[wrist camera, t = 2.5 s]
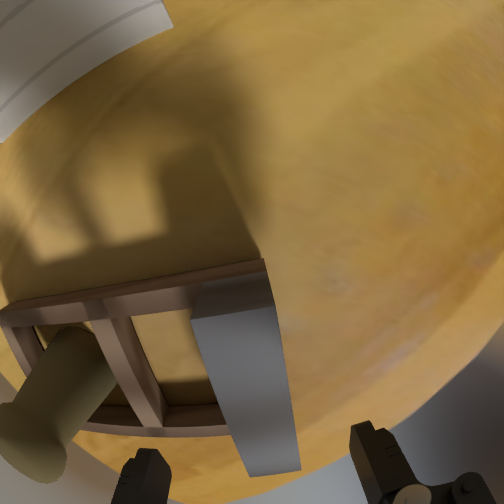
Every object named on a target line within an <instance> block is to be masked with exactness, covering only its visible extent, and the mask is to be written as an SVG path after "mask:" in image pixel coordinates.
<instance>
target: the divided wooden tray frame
mask: <svg viewBox="0 0 504 504" xmlns="http://www.w3.org/2000/svg"><path fill="white" fill-rule="evenodd" d="M193 307H194V310H193V313H192V315H191V318H190V322H191V325H192V328H193V331H194V335H195V338H196V341H197V344H198V347H199V350H200V353H201V356H202V359H203V362H204V365H205V368H206V370H207V373H208V376H209V379H210V382H211V384H212V387H213V390H214V393H215V395H216V398H217V401H218V403H219V404H209V405H195V406H177V407H169V406H168V404H167V402H166V400H165V398H164V396H163V394H162V392H161V390H160V388H159V386H158V384H157V382H156V380H155V378H154V375H153V373H152V371H151V369H150V367H149V364H148V362H147V360H146V357H145V355H144V353H143V350H142V348H141V346H140V343H139V341H138V338H137V336H136V333H135V331H134V328H133V325H132V323H131V320H130V317H129V316H137V315H144V314H152V313H159V312H166V311H173V310H180V309H187V308H193ZM85 321H90V324H91V326H92V329H93V331H94V333H95V336H96V338H97V340H98V342H99V345H100V347H101V349H102V351H103V353H104V356H105V358H106V360H107V362H108V364H109V366H110V368H111V370H112V372H113V374H114V376H115V378H116V380H117V382H118V383H119V385H120V387H121V389H122V391H123V393H124V394H125V396H126V398H127V400H128V401H129V403H130V405H131V407H120V406H102V405H99V407H98V408H97V409H96V410H95V412H94V413H93V414H92V415H91V416H90V418H89V419H88V420H87V421H86V423H85V424H84V425H83V426H82V428H81V429H80V430H85V431H91V432H99V433H107V434H116V435H127V436H141V437H209V436H224V435H231V436H232V438H233V440H234V443H235V445H236V448H237V450H238V452H239V454H240V457H241V459H242V461H243V463H244V466H245V468H246V470H247V472H248V474H249V476H250V477H258V476H267V475H274V474H281V473H288V472H294V471H299V470H301V463H300V457H299V450H298V443H297V436H296V430H295V423H294V417H293V410H292V404H291V398H290V391H289V385H288V379H287V373H286V366H285V360H284V354H283V348H282V342H281V336H280V330H279V324H278V318H277V312H276V306H275V302H274V298H273V294H272V290H271V286H270V282H269V278H268V274H267V270H266V266H265V262H264V258H262V259H256V260H251V261H246V262H240V263H235V264H229V265H224V266H218V267H213V268H208V269H202V270H197V271H191V272H185V273H180V274H174V275H169V276H163V277H158V278H152V279H146V280H141V281H135V282H129V283H124V284H118V285H112V286H106V287H101V288H95V289H89V290H83V291H77V292H71V293H66V294H60V295H54V296H48V297H42V298H36V299H30V300H24V301H17V302H12V303H10V304H8V305H7V306H5V307H4V308H3V309H1V310H0V326H1V328H2V330H3V333H4V335H5V337H6V339H7V341H8V343H9V345H10V348H11V350H12V352H13V354H14V356H15V357H16V359H17V361H18V363H19V365H20V367H21V369H22V370H23V372H24V374H25V376H26V377H28V375H29V374H30V372H31V371H32V369H33V368H34V366H35V364H36V363H37V361H38V360H39V358H40V357H41V355H42V354H43V350H42V348H41V346H40V344H39V341H38V339H37V337H36V335H35V333H34V331H33V328H32V326H39V325H52V324H64V323H74V322H85Z"/></svg>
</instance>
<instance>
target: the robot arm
mask: <svg viewBox="0 0 504 504" xmlns="http://www.w3.org/2000/svg"><path fill="white" fill-rule="evenodd" d="M349 448H350V454H351V457H352V460H353V462H354V465H355V468H356V471H357V473H358V476H359V479H360V481H361V484H362V487H363V490H364V492H365V495H366V498H367V501H368V504H496V502H495V500H494V498H493V496H492V494H491V492H490V490H489V489H488V487H487V485H486V483H485V481H484V480H483V478H482V476H481V475H480V474H478V473H475V472H467V473H464V474H462V475H461V476H459V477H458V478H457V479H456V480H455V481H454V482H450V483H446V484H442V485H437V486H427V485H424V484H422V483H420V482H419V481H418V480H417V479H416V477H415V475H414V473H413V471H412V469H411V468H410V466H409V464H408V462H407V460H406V458H405V456H404V454H403V453H402V451H401V448H400V447H399V446H398V443H397V441H396V439H395V437H394V436H393V434H391V433H390V432H389V431H388V430H386V429H385V428H381V429H378V430H376V431H375V429H374V427H373V425H372V423H371V422H370V421H369V420H368V421H365V422H362V423H358V424H355V425H352V426H351V433H350V443H349ZM120 475H121V477H119V481H118V484H117V486H116V489H115V492H114V495H113V498H112V501H111V504H167V499H168V494H169V488H170V483H171V478H172V473H171V469H170V466H169V465H168V464H167V462H166V461H165V459H164V458H163V457H162V455H161V454H160V452H159V451H158V450H157V449H148V448H139V449H138V451H137V453H136V456H135V458H130V459H129V460H128V461H127V462H126V463H125V465H124V466H123V468H122V471H121V474H120Z"/></svg>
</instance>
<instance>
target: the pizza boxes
mask: <svg viewBox="0 0 504 504" xmlns="http://www.w3.org/2000/svg"><path fill="white" fill-rule="evenodd" d="M173 27H174V26H173V23H172V21H171V19H170V16H169V14H168V12H167V9H166V7H165V5H164V2H163V0H0V143H3V142H4V141H5V140H6V139H7V138H8V137H9V136H10V135H11V134H12V133H13V132H14V131H15V130H16V129H17V128H18V127H19V126H20V125H21V124H22V123H23V122H24V121H26V120H27V119H28V118H29V117H30V116H31V115H32V114H33V113H35V112H36V111H37V110H38V109H39V108H40V107H42V106H43V105H44V104H45V103H46V102H48V101H49V100H50V99H51V98H53V97H54V96H55V95H57V94H58V93H59V92H61V91H62V90H63V89H65V88H66V87H67V86H69V85H70V84H71V83H73V82H74V81H76V80H77V79H79V78H80V77H82V76H83V75H85V74H86V73H88V72H89V71H91V70H92V69H94V68H95V67H97V66H99V65H100V64H102V63H103V62H105V61H107V60H109V59H110V58H112V57H114V56H115V55H117V54H119V53H121V52H123V51H125V50H126V49H128V48H130V47H132V46H134V45H136V44H138V43H140V42H142V41H144V40H146V39H148V38H150V37H152V36H155V35H157V34H159V33H161V32H164V31H166V30H168V29H171V28H173Z"/></svg>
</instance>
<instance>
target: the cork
mask: <svg viewBox="0 0 504 504" xmlns="http://www.w3.org/2000/svg"><path fill="white" fill-rule="evenodd" d="M116 384H117V380H116V378H115V376H114V374H113V372H112V370H111V368H110V366H109V364H108V362H107V360H106V358H105V356H104V353H103V351H102V349H101V347H100V345H99V342H98V340H97V338H96V337H95V336H93V335H92V334H91V333H89V332H87V331H85V330H82V329H80V328H77V327H66V328H63V329H60V330H59V332H58V333H57V334H56V335H55V337H54V338H53V339H52V341H51V342H50V344H49V345H48V347H47V348H46V350H45V351H44V352H43V354H42V355H41V357H40V358H39V360H38V361H37V363H36V364H35V366H34V368H33V369H32V371H31V372H30V374H29V375H28V377H27V379H26V380H25V382H24V383H23V385H22V387H21V388H20V390H19V392H18V394H17V395H16V397H15V399H14V400H13V402H10V403H2V404H0V454H1V455H2V457H3V458H4V459H5V460H6V461H7V462H8V463H9V464H11V465H12V466H13V467H14V468H15V469H17V470H18V471H19V472H21V473H22V474H24V475H26V476H27V477H29V478H31V479H33V480H35V481H37V482H40V483H45V484H48V483H52V482H55V481H57V480H58V479H59V478H60V477H61V476H62V474H63V472H64V470H65V466H66V461H67V454H66V449H65V447H66V446H67V445H68V444H69V442H70V441H71V440H72V439H73V437H74V436H75V435H76V434H77V432H78V431H79V430H80V429H81V428H82V426H83V425H84V424H85V423H86V421H87V420H88V419H89V418H90V416H91V415H92V414H93V413H94V412H95V410H96V409H97V408H98V407H99V405H100V404H101V403H102V402H103V401H104V399H105V398H106V397H107V396H108V395H109V393H110V392H111V391H112V390H113V388H114V387H115V386H116Z"/></svg>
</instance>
